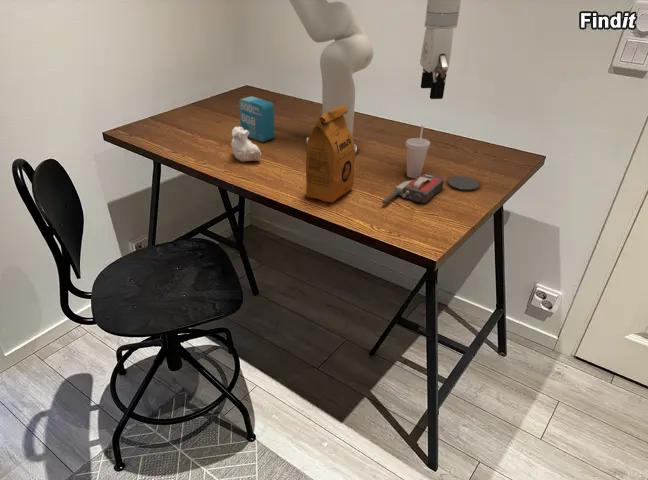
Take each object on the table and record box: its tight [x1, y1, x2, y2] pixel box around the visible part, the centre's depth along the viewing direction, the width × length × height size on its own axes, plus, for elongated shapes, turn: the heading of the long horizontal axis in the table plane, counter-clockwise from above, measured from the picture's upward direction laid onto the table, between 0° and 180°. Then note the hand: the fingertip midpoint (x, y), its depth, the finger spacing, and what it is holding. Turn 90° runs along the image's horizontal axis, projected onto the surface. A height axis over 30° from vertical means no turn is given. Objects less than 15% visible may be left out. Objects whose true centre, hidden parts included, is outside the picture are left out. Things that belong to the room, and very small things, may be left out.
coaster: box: [447, 176, 480, 192], centre depth 138 cm, size 8×8×1 cm
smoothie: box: [405, 125, 431, 179], centre depth 140 cm, size 6×6×14 cm
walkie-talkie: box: [381, 172, 445, 205], centre depth 132 cm, size 9×4×20 cm
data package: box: [238, 95, 276, 143], centre depth 167 cm, size 12×4×12 cm, turn 44°
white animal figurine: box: [230, 126, 262, 163], centre depth 152 cm, size 12×8×11 cm
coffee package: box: [305, 106, 356, 203], centre depth 129 cm, size 10×12×22 cm
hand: (431, 93), depth 132 cm, fingers open, 9 cm apart
